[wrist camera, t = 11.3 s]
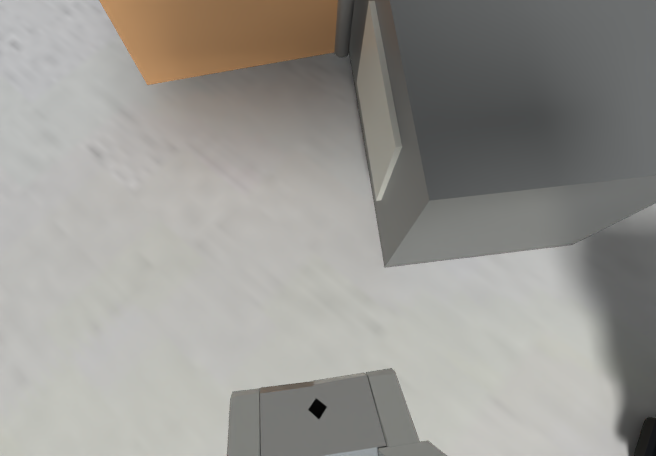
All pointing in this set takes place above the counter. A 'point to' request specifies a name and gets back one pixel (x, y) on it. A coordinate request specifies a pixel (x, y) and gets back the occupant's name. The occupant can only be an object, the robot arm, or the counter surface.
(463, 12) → the camera box
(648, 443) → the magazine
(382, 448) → the robot arm
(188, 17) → the side door
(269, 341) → the counter surface
